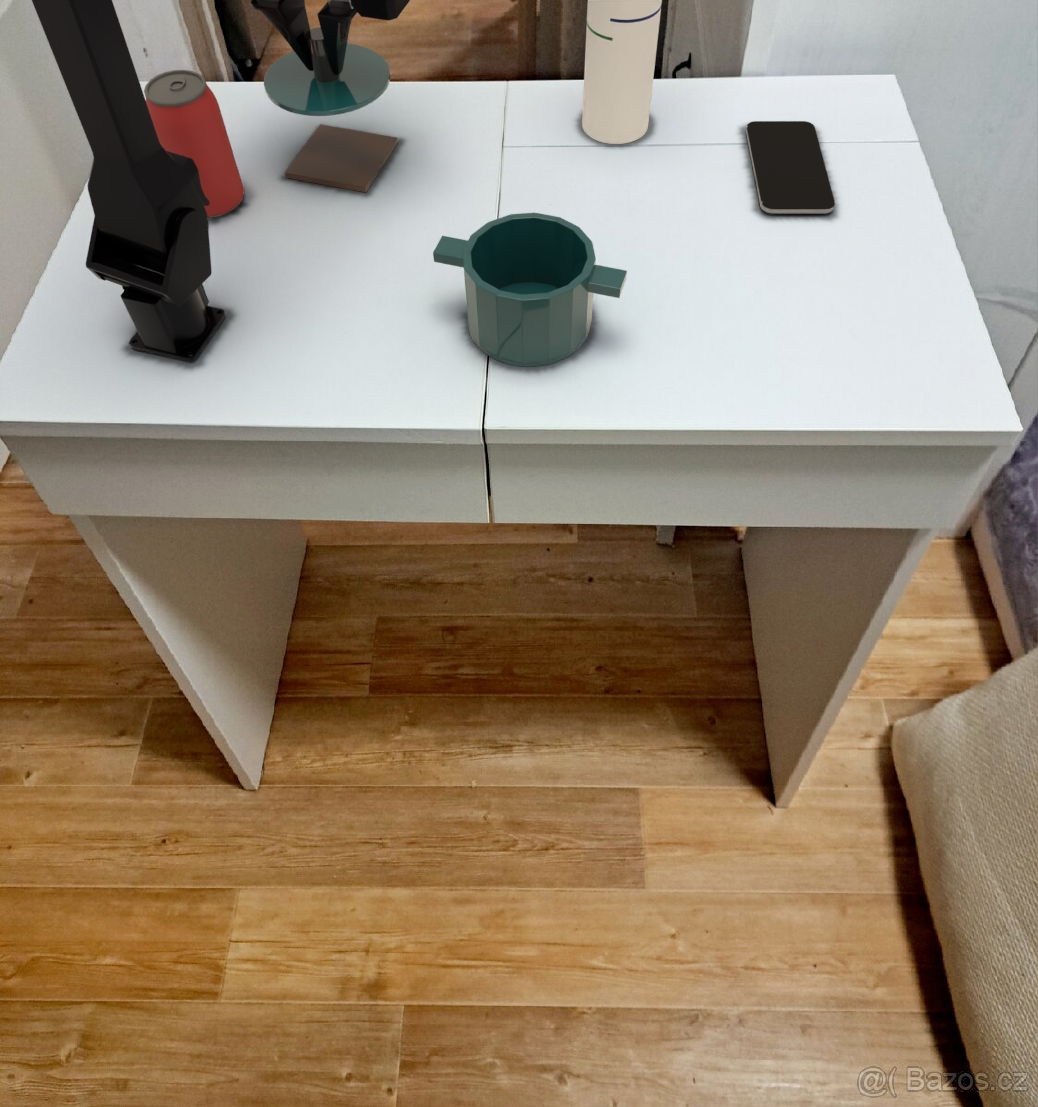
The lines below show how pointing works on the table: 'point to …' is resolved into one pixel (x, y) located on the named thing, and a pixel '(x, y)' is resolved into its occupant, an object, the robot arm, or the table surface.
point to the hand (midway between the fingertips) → (325, 70)
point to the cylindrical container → (619, 68)
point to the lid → (326, 80)
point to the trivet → (342, 158)
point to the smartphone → (789, 167)
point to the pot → (529, 286)
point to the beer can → (196, 134)
